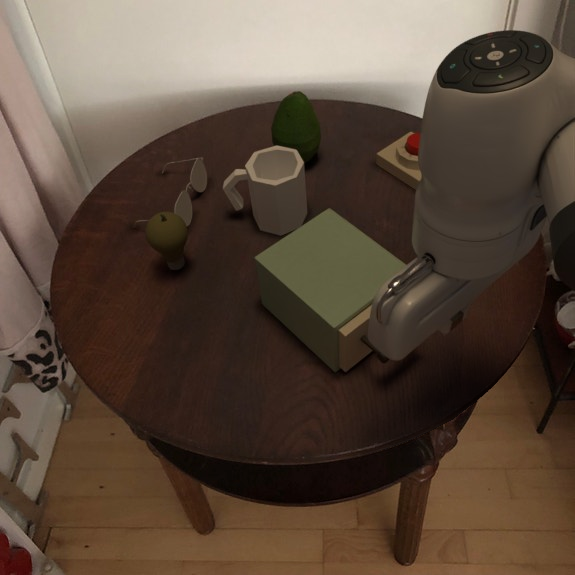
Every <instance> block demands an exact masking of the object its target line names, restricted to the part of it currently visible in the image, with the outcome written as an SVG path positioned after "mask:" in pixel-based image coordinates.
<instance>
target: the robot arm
mask: <svg viewBox="0 0 575 575" xmlns="http://www.w3.org/2000/svg"><path fill="white" fill-rule="evenodd" d="M419 133H420V140H419V151H418V163H419V168H420V171H421V176H422V177H421V180H420V182H419V184H418V186H417V189H416V190H415V194H414V203H413V215H412V226H411V227H412V228H411V245H412V248H413V251H414V253H415V255H416V257H415V258H414V259H413V260H411V261H410V262H408V263H407V264H406V266H405V267H404V268H402V269H401V270H400V271H398V272H397V273H396V274H395V275H393V276H392V277H391V278H389V279H388V280H387V281H386V282H385V283H384V284H383V285H382V286H381V287H380V289H379V290H378V291H377V293H376V295H375V297H374V300H373V303H372V308H371V312H370V318H369V325H368V340H369V341H370V343H371V344H372V345H373V346H374V347H375V348H376V349H377V350H378V351H380V352H381V353H382V354H383V355H385V356H386V357H387V358H389V359H390V360H391V361H394V362H395V361H396V362H400V361H402V360H404V359H405V358H407V356H408V355H409V354H410V353H412V352H413V351H414V350H416V349H417V348H418V347H419V346H420V345H421V344H422V343H424V342H425V341H426V340H427V339H429V337H431V336H432V335H433V334H434V333H435V332H436V331H439V333H441V334H443V335H445V336H446V335H448V334H449V333H450V332H452V331H453V330H454V329H455V328H456V327H457V326H458V325H459V324H461V323H462V322H463V321H464V320H466V319H467V314H468V310H469V309H470V307H471V306H472V305H473V303H474V301H475V300H476V298H477V297H478V296H479V295H481V293H483V292H484V291H485V290H486V289H487V288H489V287H490V286H491V285H492V284H493V283H494V282H496V281H497V280H498V279H499V278H501V277H502V276H503V275H504V274H505V273H506V272H507V271H509V270H510V269H511V268H512V267H513V266H515V265H516V264H517V263H518V262H519V261H521V260H522V259H523V258H525V256H527V255H528V254H529V253H530V252H531V251H532V249H533V248H534V247H535V246H536V244H537V243H538V241H539V239H540V236H541V235H542V232H543V229H544V226H545V225H546V222H547V221H548V224H549V226H548V227H549V228H548V231H549V241H550V249H551V256H552V263H553V269H554V273H555V274H556V276H557V277H558V279H559V281H560V282H562V283H563V284H564V285H565V286H567V287H568V288H570V289H571V290H573V291H574V292H575V58H574V57H571V56H570V55H567V54H565V53H563V52H562V51H560V50H559V49H558V48H556V47H555V46H554V45H553V44H552V43H551V42H550V41H549V40H548V39H547V38H545V37H543V36H541V35H539V34H537V33H533V32H529V31H526V30H525V31H524V30H517V29H516V30H515V29H508V30H506V29H505V30H497V31H496V30H495V31H491V32H487V33H482V34H480V35H477V36H474V37H472V38H469V39H467V40H464V41H462V43H460V44H458V45H457V46H456V47H454V48H453V49H452V50H451V51H450V52H449V53H447V55H446V56H445V57H443V59H442V60H441V62H440V63H439V65H438V66H437V68H436V69H435V72H434V74H433V76H432V79H431V82H430V85H429V88H428V91H427V95H426V99H425V102H424V108H423V113H422V119H421V125H420V132H419Z"/></svg>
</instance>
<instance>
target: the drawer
mask: <svg viewBox="0 0 575 575" xmlns="http://www.w3.org/2000/svg"><path fill="white" fill-rule="evenodd" d="M371 308H372V304H370V305H369V306H368V307H366V308H365V309H364V310H362V311H361V312H360V313H358V314H357V315H356V316H354V317H353V318H352V319H350V320H349V321H348V322H347V323H345V324H344V325H343V326H341V327H340V328H339V330H338V338H339V367H340V368H341V369H340V370H342V371H343V372H344V373H347V372H348V371H349V370H351V368H353V367H354V366H356V364H358V363H359V362H360V361H362V360H363V359H364V358H365V357H367V356H368V355H369V354H371V353H372V352H373V353H375V354H376V358H377V359H378V361H379V362H380V363H382V364H386V363H387V362H389V361H390V360H391V359H389V358H387V357H386V356H385V355H383V354H382V353H381V352H380V351H378V350H377V349H376V348H375V347H374V346H373V345H372V344H371V343H370V341H369V340H368V325H369V318H370V312H371Z"/></svg>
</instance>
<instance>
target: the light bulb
mask: <svg viewBox="0 0 575 575" xmlns="http://www.w3.org/2000/svg"><path fill="white" fill-rule="evenodd" d="M148 220H149V221H147V224H146V227H145V237H146V240H147V242H148V244H149V246H150V247H151V248H152V249H153V250H155V251H156V253H158V254H160V255H161V256H162V258H163V259H164V260H165V261H166V264H167V266H168V268H169V269H170V270H172V271H178V270H180V269H182V268H183V267H184V266H185V263H186V261H185V258H184V254H185V246H186V245H187V244H186V243H187V241H188V236H189V230H188V226H186V224H185V222H184V220H183V219H182V218H181V217H180V216H179V215H177V214H175V213H174V212H171V211H161V212H157V213H156V214H154V215H153V216H152V217H151V218H150V219H148Z"/></svg>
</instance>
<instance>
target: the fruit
mask: <svg viewBox="0 0 575 575" xmlns="http://www.w3.org/2000/svg"><path fill="white" fill-rule="evenodd" d="M270 132H271V142H272V144H273V146H276V145H277V146H282V147H286V148H291V149H295V150H297V151H298V153H299V155H300V157H301V158H302V160H303V162H304V164H306V163H308V162H309V161H310V160H312V159H313V157H314V156H315V155H316V153H317V152H318V151H319V147H320V144H321V141H322V132H321V123H320V121H319V118H318V116H317V114H316V112H315V109H314V107H313V105H312V103H311V101H310V99H309V98H308V96H307V95H306V94H305V93H303V92H302V91H298V90H297V91H293V92H291V93H289V94H288V95H286V96H285V97H283V98H282V100H281V101H280V102H279V105H278V107H277V110H276V112H275V114H274V116H273V121H272V124H271V127H270Z"/></svg>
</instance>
